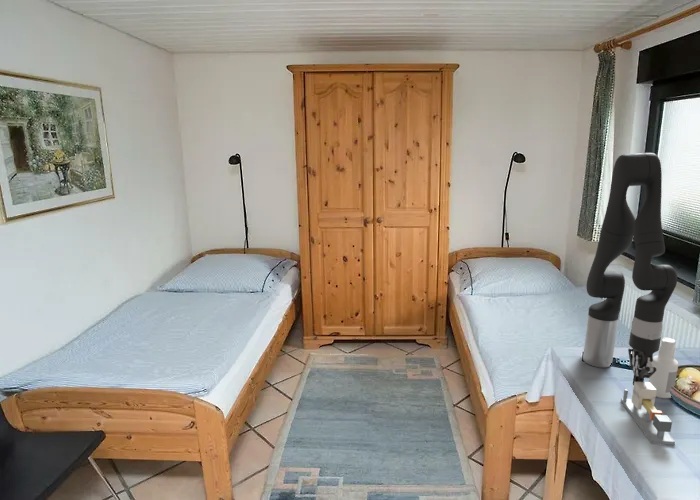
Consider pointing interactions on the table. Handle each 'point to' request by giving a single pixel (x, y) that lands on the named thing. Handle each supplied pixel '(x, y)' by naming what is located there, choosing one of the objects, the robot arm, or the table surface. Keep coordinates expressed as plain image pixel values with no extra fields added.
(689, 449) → the table surface
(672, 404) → the table surface
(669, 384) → the white bottle
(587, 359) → the robot arm
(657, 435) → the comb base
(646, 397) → the sleeve
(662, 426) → the yellow bar
